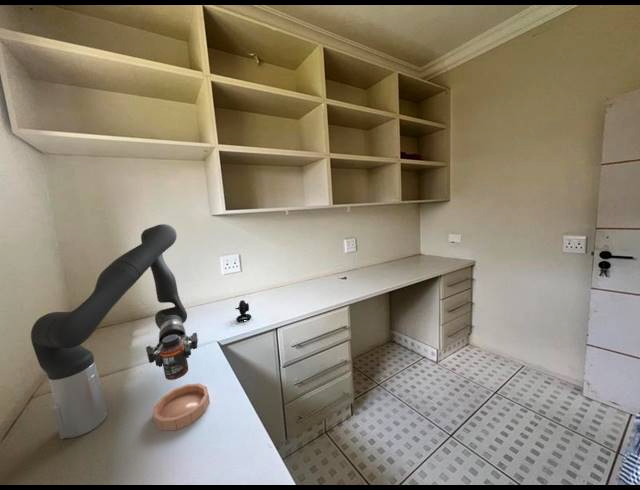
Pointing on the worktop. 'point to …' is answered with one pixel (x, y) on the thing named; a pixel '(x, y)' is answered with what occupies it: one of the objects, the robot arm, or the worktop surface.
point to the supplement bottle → (173, 357)
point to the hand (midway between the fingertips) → (174, 359)
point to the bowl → (181, 407)
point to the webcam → (243, 311)
